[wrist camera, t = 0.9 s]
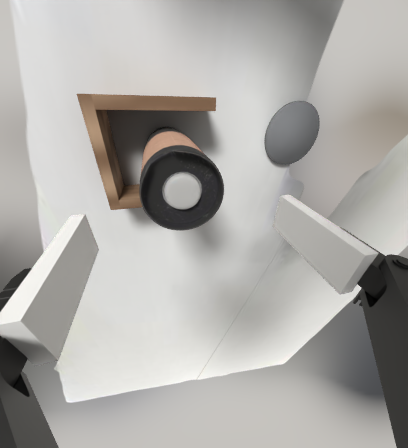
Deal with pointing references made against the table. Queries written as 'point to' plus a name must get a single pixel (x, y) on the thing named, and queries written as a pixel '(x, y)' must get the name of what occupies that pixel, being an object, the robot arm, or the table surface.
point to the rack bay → (104, 144)
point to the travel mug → (178, 181)
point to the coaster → (292, 132)
